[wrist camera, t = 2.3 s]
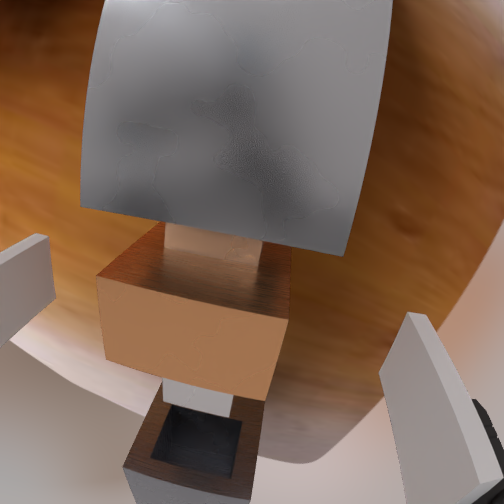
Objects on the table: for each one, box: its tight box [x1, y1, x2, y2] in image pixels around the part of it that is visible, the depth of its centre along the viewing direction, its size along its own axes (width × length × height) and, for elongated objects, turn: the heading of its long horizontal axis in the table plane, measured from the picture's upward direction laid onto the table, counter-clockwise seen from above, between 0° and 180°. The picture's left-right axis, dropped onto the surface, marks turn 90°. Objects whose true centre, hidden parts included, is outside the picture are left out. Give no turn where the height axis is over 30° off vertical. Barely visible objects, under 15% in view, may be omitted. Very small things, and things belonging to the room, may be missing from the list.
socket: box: [123, 381, 265, 504], centre depth 20 cm, size 6×7×12 cm
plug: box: [96, 221, 291, 418], centre depth 11 cm, size 18×5×8 cm, turn 171°
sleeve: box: [80, 0, 393, 257], centre depth 11 cm, size 9×7×12 cm
